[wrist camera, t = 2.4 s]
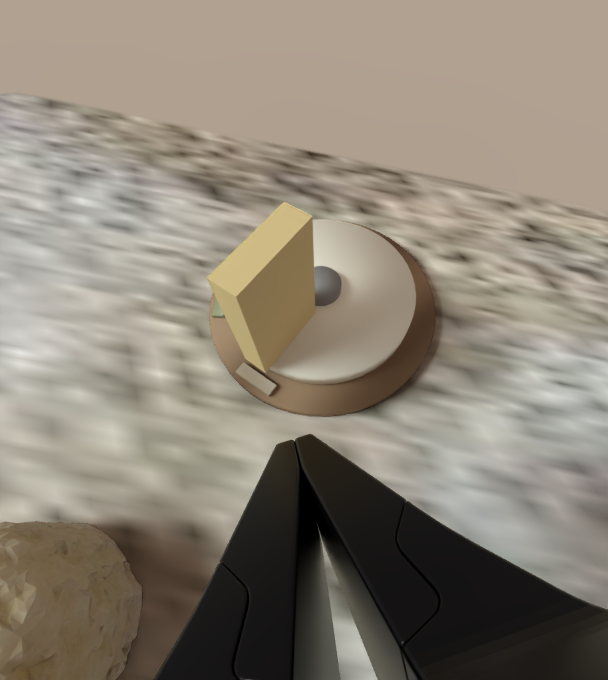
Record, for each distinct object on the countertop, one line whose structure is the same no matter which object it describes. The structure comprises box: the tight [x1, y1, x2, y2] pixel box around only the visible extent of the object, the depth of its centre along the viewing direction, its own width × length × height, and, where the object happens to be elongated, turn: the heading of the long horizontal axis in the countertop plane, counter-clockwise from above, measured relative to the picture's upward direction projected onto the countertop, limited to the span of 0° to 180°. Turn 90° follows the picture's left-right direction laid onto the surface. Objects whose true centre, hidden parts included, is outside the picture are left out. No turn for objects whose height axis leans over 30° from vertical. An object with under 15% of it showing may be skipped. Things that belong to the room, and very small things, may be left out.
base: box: [209, 221, 435, 417], centre depth 22 cm, size 14×14×1 cm
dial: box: [207, 202, 416, 384], centre depth 18 cm, size 11×12×8 cm
